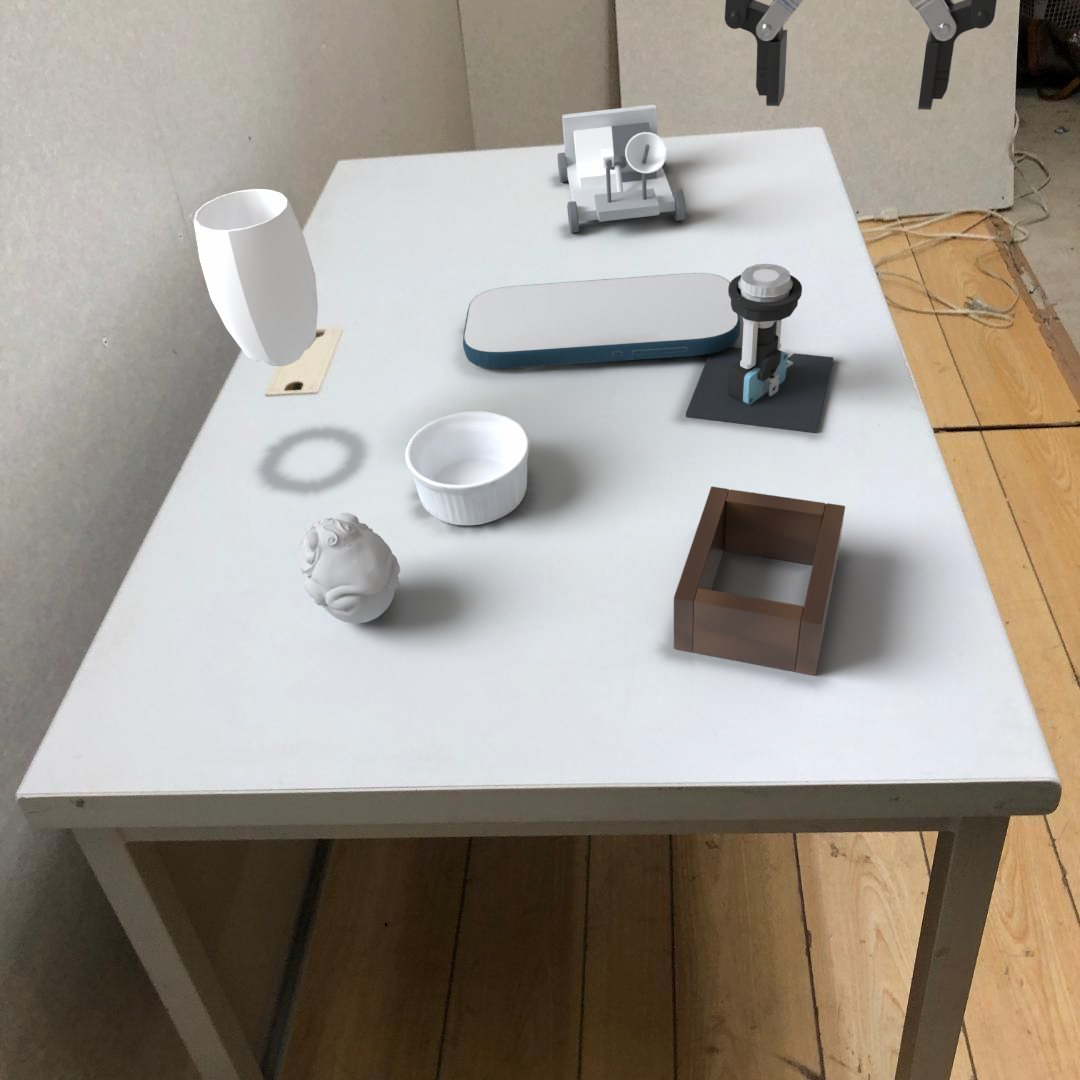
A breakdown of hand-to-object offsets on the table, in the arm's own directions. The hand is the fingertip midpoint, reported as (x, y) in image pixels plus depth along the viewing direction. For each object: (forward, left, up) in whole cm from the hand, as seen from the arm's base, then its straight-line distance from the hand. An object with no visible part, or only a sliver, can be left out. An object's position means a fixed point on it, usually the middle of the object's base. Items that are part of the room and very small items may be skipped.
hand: (849, 103), depth 62 cm
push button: (+5, -7, -25) cm, 27 cm away
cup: (+37, +9, -26) cm, 46 cm away
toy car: (+25, -37, -26) cm, 52 cm away
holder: (+1, +16, -25) cm, 30 cm away
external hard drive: (+20, -13, -25) cm, 35 cm away
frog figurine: (+26, +23, -26) cm, 43 cm away
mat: (+5, -7, -25) cm, 27 cm away
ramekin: (+23, +10, -26) cm, 36 cm away
